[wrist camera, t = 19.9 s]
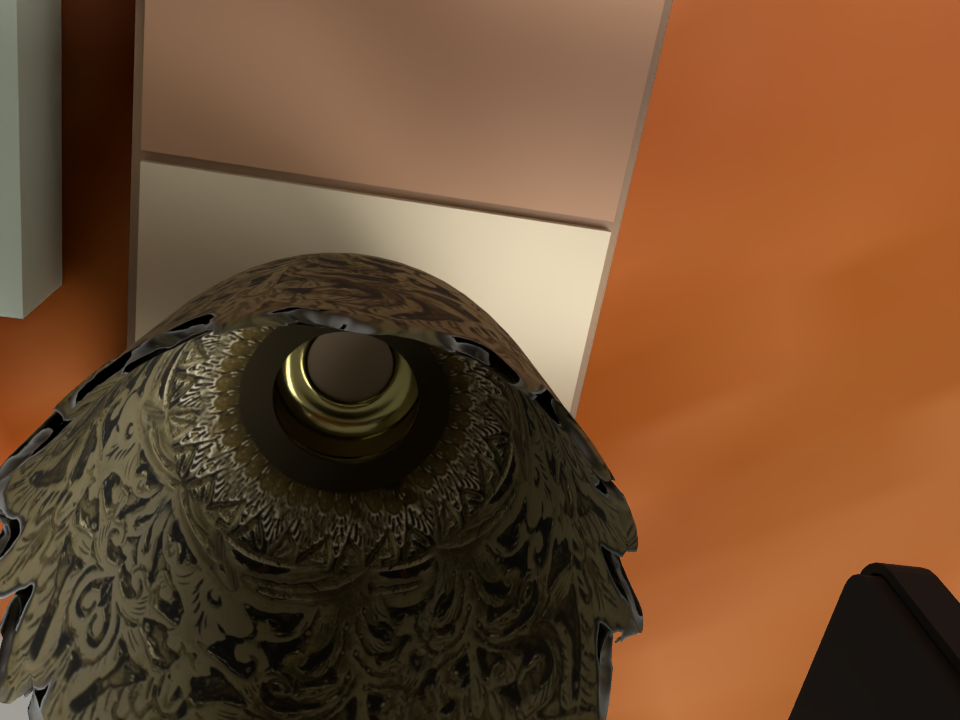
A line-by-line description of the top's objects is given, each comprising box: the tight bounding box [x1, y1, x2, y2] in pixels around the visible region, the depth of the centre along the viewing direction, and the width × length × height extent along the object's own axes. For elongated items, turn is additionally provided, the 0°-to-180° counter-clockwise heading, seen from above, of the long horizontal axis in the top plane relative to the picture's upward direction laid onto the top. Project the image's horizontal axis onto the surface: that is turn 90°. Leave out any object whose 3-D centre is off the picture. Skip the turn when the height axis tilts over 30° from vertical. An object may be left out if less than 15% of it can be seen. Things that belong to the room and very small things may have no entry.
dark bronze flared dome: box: [0, 253, 643, 720], centre depth 13 cm, size 8×7×8 cm
